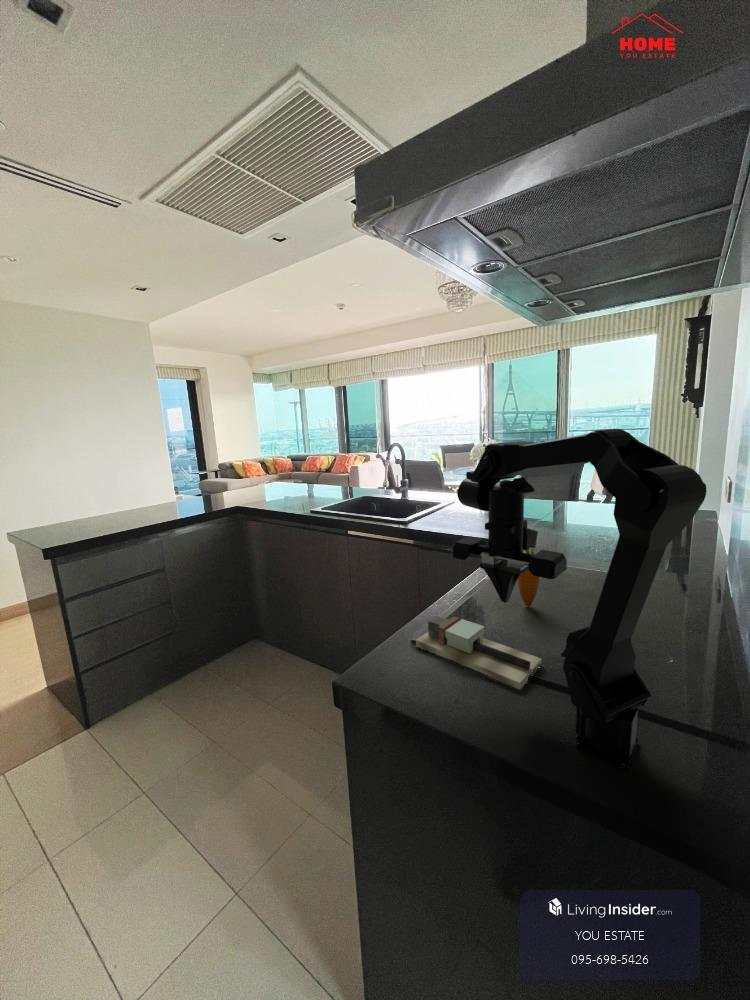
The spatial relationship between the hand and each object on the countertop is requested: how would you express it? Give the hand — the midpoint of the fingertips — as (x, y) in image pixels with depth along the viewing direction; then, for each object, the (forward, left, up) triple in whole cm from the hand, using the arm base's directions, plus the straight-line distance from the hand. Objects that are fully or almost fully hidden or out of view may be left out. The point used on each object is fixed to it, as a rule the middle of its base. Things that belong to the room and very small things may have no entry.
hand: (505, 601), depth 73 cm
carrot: (+7, -26, -13) cm, 30 cm away
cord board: (+6, 0, -13) cm, 14 cm away
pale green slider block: (+8, 0, -11) cm, 14 cm away
